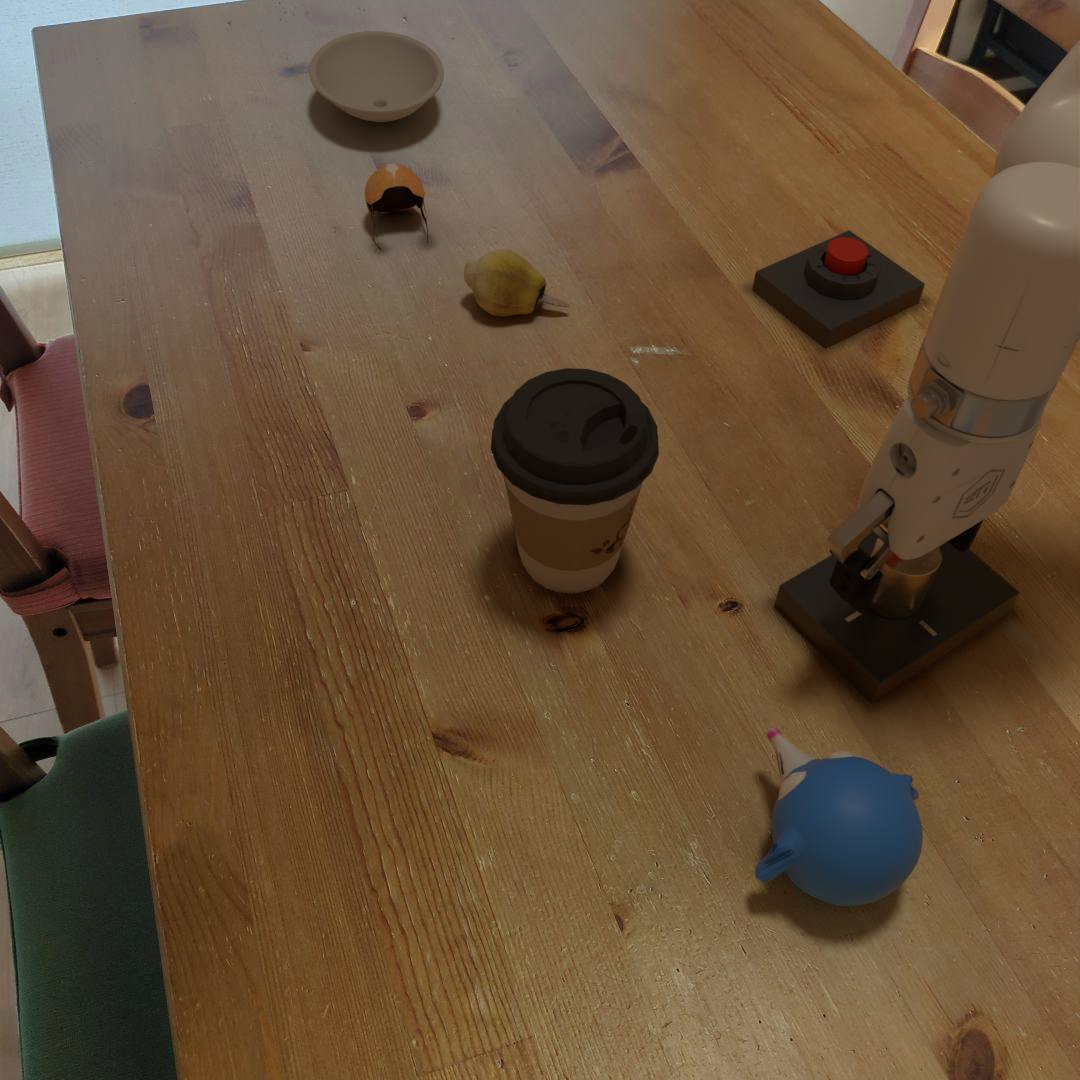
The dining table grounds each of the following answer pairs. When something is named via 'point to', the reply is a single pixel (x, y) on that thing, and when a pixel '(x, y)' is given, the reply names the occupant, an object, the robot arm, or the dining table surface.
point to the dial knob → (904, 583)
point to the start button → (845, 256)
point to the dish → (376, 74)
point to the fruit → (507, 284)
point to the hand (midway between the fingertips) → (899, 566)
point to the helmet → (394, 191)
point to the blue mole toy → (841, 826)
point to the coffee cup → (573, 472)
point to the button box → (836, 292)
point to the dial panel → (895, 644)
